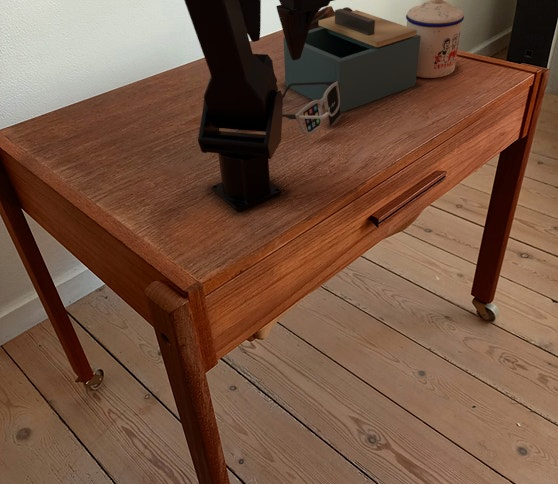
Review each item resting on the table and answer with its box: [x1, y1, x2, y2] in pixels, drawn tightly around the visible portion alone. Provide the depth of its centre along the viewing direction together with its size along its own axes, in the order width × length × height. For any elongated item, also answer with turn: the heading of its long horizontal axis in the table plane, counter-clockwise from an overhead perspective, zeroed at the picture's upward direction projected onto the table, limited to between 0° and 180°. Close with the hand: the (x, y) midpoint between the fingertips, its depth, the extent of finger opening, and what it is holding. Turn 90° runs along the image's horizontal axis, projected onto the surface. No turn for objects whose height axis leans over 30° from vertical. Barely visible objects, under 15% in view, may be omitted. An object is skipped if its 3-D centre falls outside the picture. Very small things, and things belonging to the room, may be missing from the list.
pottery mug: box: [309, 5, 354, 30], centre depth 108 cm, size 12×10×8 cm
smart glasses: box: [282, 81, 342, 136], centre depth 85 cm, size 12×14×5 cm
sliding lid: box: [319, 8, 417, 47], centre depth 91 cm, size 14×8×3 cm, turn 35°
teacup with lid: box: [405, 0, 465, 79], centre depth 97 cm, size 12×9×12 cm
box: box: [282, 27, 421, 114], centre depth 93 cm, size 14×16×8 cm
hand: (275, 49), depth 76 cm, fingers open, 9 cm apart
